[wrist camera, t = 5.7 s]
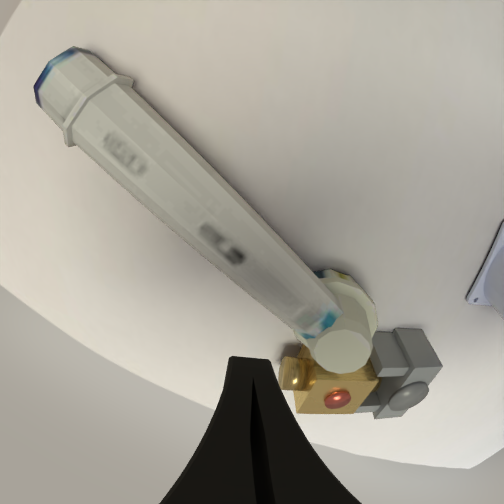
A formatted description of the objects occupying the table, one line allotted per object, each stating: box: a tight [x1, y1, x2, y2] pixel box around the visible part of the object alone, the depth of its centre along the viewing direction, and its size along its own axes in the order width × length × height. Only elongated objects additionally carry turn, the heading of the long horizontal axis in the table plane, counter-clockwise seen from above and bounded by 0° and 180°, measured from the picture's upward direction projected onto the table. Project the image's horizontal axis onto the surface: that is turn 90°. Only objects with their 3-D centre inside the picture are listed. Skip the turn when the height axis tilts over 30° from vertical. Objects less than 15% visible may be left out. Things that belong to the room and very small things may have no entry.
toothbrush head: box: [34, 46, 378, 374], centre depth 17 cm, size 5×7×25 cm
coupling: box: [354, 328, 443, 419], centre depth 23 cm, size 6×7×5 cm
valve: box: [278, 344, 382, 414], centre depth 23 cm, size 8×4×5 cm, turn 77°
